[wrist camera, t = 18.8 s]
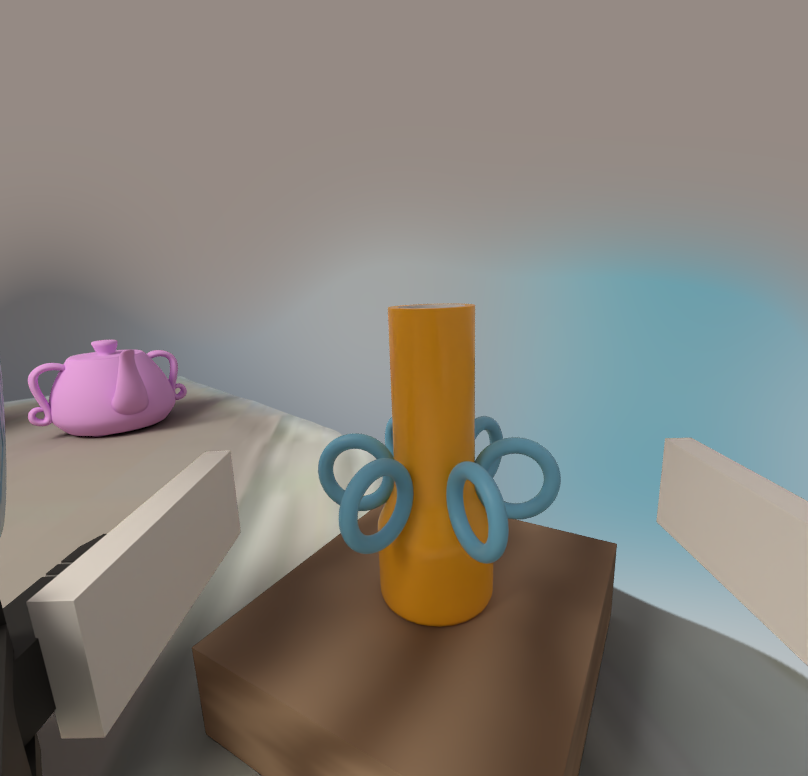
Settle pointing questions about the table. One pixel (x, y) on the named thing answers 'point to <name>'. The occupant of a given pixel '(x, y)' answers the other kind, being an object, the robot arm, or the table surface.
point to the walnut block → (414, 668)
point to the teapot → (106, 391)
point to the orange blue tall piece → (434, 474)
